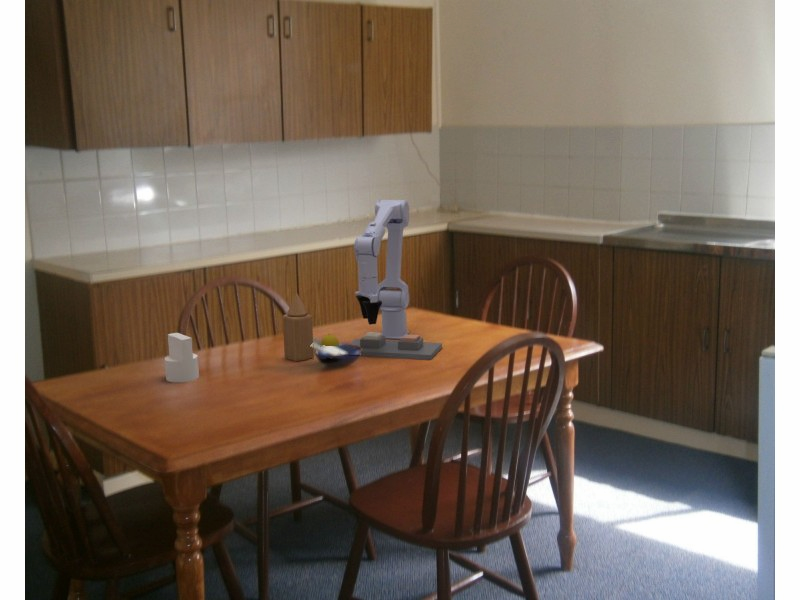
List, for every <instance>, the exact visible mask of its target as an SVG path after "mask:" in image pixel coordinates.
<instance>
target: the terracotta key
mask: <svg viewBox="0 0 800 600" xmlns="http://www.w3.org/2000/svg"><path fill="white" fill-rule="evenodd" d="M420 337H421V336H420V334H410V333H408V334H405V335H404V336H403V337H402V341H407V342H417V341H418V340H419V339H420Z"/></svg>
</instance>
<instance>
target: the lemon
mask: <svg viewBox="0 0 800 600" xmlns="http://www.w3.org/2000/svg"><path fill="white" fill-rule="evenodd" d="M321 345H325V346H339V347H340V341H339V339H338V338H337V337H336V335H333V334H331V333H328V334H326V335H325V336H323V337H322V339H321V342H320V346H321Z"/></svg>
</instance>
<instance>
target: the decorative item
mask: <svg viewBox="0 0 800 600" xmlns="http://www.w3.org/2000/svg"><path fill="white" fill-rule="evenodd" d="M308 312H309V311H308V310H307V309H306V306H305V305H304V303H303V301H302V300H301V298H300V297H299V294H298V292H296V293H295V295H294V296H293V299H292V301H291V304H290V306H289V309H288V310H287V313H286V314H284V315H282V330H283V331H282V333H283V349H284V350H283V351H284V353H283V354H284V358H285V359H288V360H290V361H294V362H301V361H305V360H309V359H313V358H314V355H315V354H314V353H315V352H314V347H313V348H312V347H310V345H311V344H312V343H313V344H314V333H313V332H314V330H313V316H312V315H311V314H308Z"/></svg>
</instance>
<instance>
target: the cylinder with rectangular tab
mask: <svg viewBox="0 0 800 600" xmlns="http://www.w3.org/2000/svg"><path fill="white" fill-rule="evenodd" d="M167 342H168V343H167V344H168V354H169V355H167V356H165V357H164V369H165V371H164V372H165V379H166V381H167V382H169V383H187V382H192V381H196V380H197V379H199V377H200V372H199V356H198V354H196V353H194V352H193V339H192V337H190V336H188V335H184V334H182V333H179V332H173V333H169V334H167Z"/></svg>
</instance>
